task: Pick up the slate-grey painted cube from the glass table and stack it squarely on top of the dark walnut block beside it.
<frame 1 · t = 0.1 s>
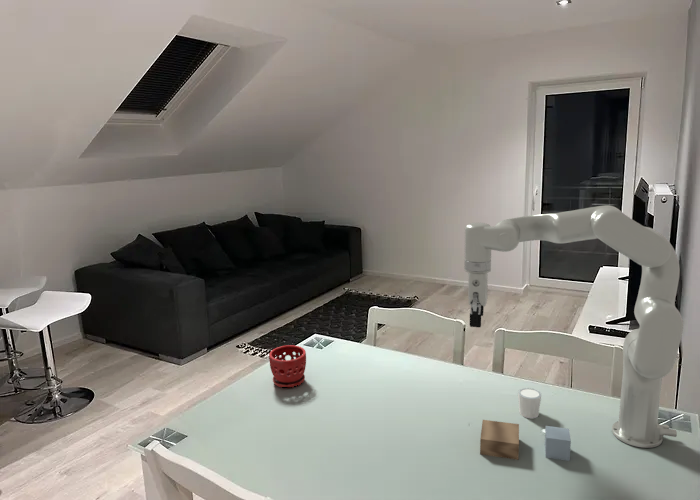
hand: (476, 320, 155), 31 cm above the table, tool pointing down, fingers open, 9 cm apart
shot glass: (528, 414, 161), on the table
walnut block: (499, 447, 145), on the table
slate cube: (556, 452, 142), on the table
plant pot: (289, 383, 188), on the table
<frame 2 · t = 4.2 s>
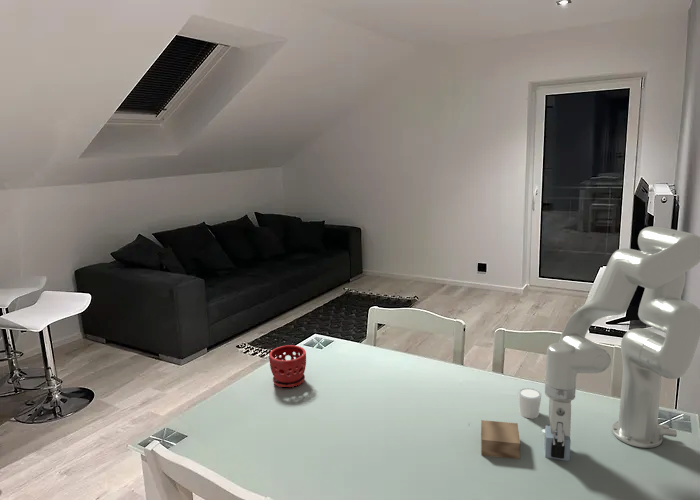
hand: (556, 449, 141), 1 cm above the table, tool pointing down, fingers closed on slate cube, 6 cm apart
slate cube: (556, 452, 142), on the table, touching gripper
everything else where it was.
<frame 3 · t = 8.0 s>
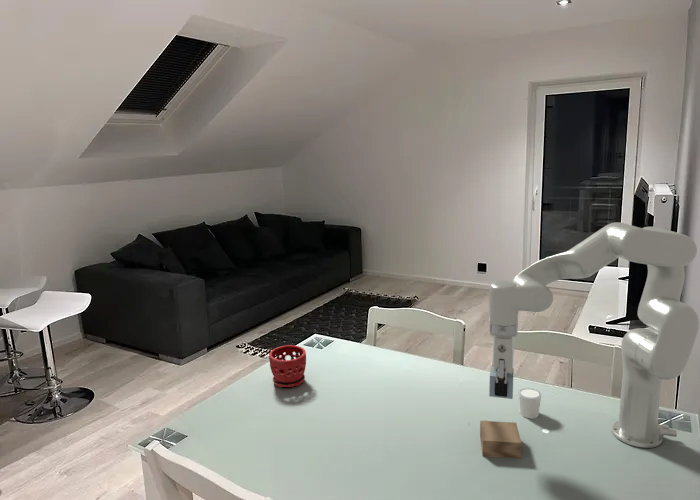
hand: (501, 389, 141), 17 cm above the table, tool pointing down, fingers closed on slate cube, 6 cm apart
slate cube: (501, 392, 142), point 17 cm above the table, touching gripper
everything else where it was.
when the fingers open (7 cm above the table, at t = 11.7 s): slate cube drops 1 cm, resting on walnut block.
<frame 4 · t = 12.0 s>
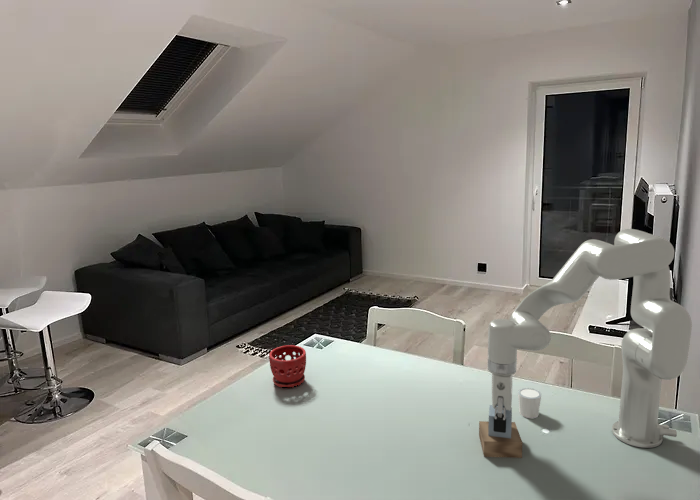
hand: (500, 422, 144), 7 cm above the table, tool pointing down, fingers open, 8 cm apart
walnut block: (499, 447, 145), on the table, touching slate cube
slate cube: (499, 431, 144), point 5 cm above the table, touching walnut block
everything else where it was.
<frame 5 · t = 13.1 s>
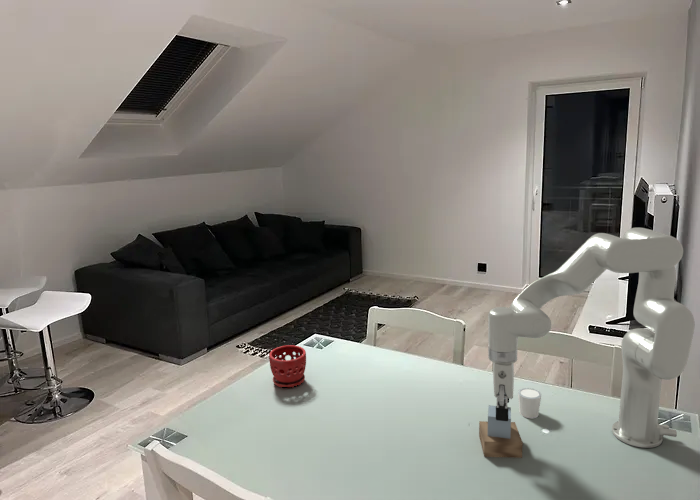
hand: (502, 410, 143), 11 cm above the table, tool pointing down, fingers open, 9 cm apart
walnut block: (499, 447, 145), on the table
slate cube: (498, 431, 144), point 5 cm above the table
everything else where it was.
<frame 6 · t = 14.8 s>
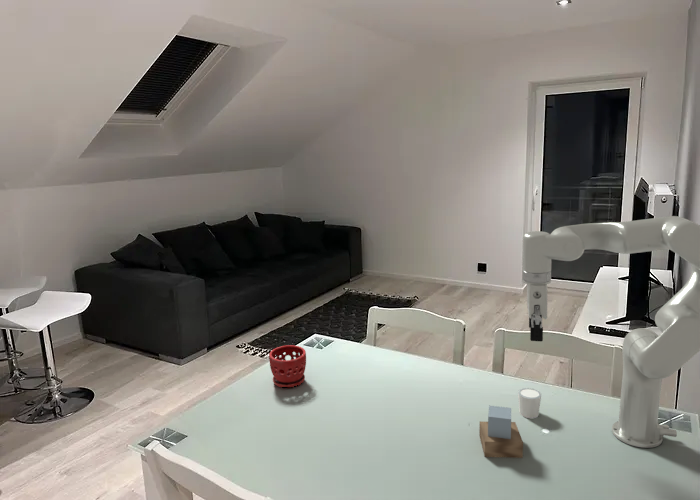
hand: (535, 334, 147), 30 cm above the table, tool pointing down, fingers open, 9 cm apart
nothing on the table moved.
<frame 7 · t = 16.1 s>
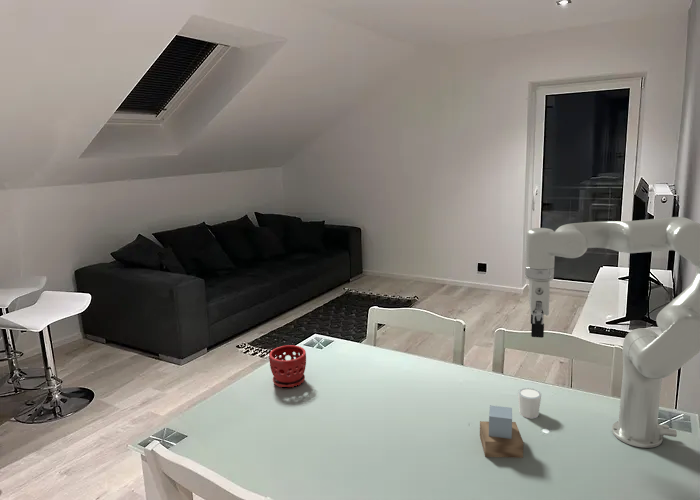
hand: (536, 330, 148), 30 cm above the table, tool pointing down, fingers open, 9 cm apart
nothing on the table moved.
at the end: slate cube 0.4 cm off-centre on the walnut block, point 5.0 cm above the walnut block's base; slate cube tilted 0°; the gripper is holding nothing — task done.
